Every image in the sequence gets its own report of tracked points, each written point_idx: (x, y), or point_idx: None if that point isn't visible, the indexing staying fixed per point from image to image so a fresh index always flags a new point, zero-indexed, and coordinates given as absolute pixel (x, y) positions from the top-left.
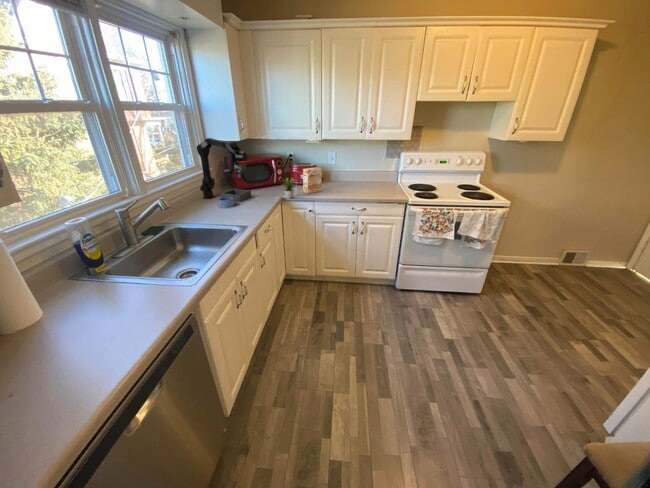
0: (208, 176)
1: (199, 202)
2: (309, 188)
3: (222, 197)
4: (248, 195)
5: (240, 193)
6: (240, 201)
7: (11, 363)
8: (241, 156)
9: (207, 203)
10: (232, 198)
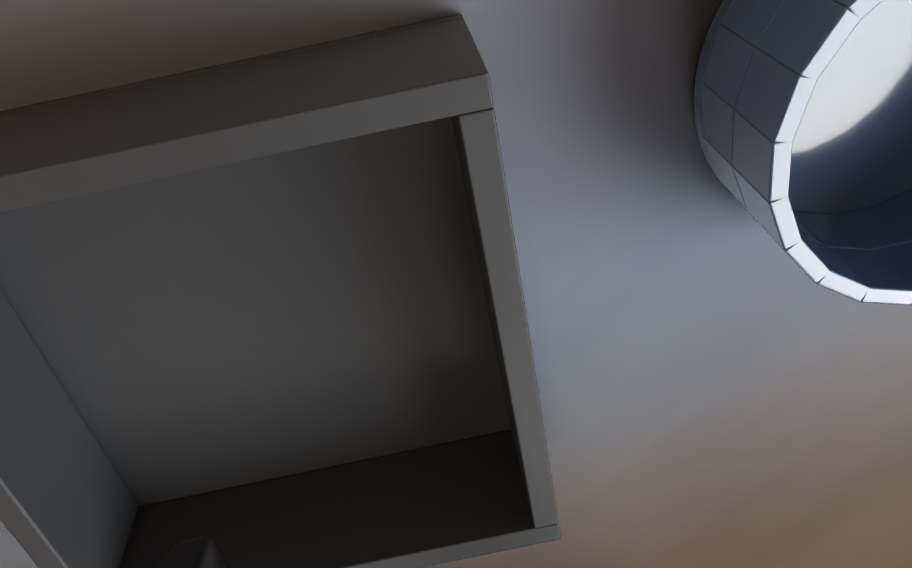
0: None
1: (800, 559)
2: None
3: (868, 298)
4: (2, 132)
5: (54, 428)
6: (456, 16)
7: None
8: None
9: (817, 452)
10: (838, 32)
